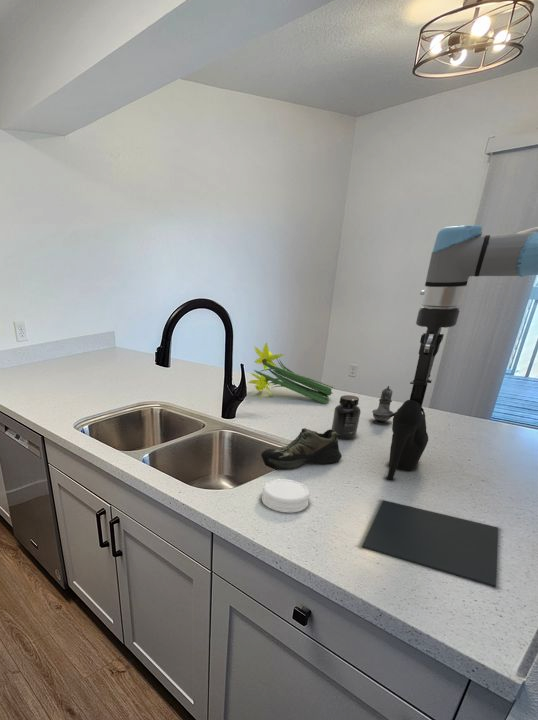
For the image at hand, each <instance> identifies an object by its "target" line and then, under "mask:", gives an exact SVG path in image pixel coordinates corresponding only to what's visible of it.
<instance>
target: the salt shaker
mask: <svg viewBox="0 0 538 720" xmlns="http://www.w3.org/2000/svg"><path fill="white" fill-rule="evenodd" d="M392 397H393V389H391V388H390V386H389V385H388V386H386V388H384V389H382V390H381V395H380V398H379V399H378V402H379V403H378V406H377V409H376V408H375V409H373V410H372V411H371V412H372V417H373V418H374V419H372V423H373V424H375V425H381V426H387V425H389V424H390V421H389V420H390V419H391V418H392V417H390V415H392V414H393V413H394V412H393V411H392V410H390V408H391V403H392V402H393V401H392Z"/></svg>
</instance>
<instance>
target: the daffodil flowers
mask: <svg viewBox="0 0 538 720" xmlns="http://www.w3.org/2000/svg"><path fill="white" fill-rule="evenodd" d="M253 347H254V350H255V352H256V354H257V355H258V356H259V358H257V359H255V360H254V363H256V364H258V365H260V364H262V367H263V369H261V370H259V371H258V370H255V369H254V370H253V371H254V372H255V373H250V374H251V375H252V377H255V378H256V379H252V380H250V381H248V382H247V384H255V385H254V388H255V390H256V391H258V392H264V390H265V389H266V390H267V391H268V393H269V394H270V396H271V397H273V395H272V393H271V390H270V387H271V389H274V388H278V387H281V388H286V389H288V390H291V391H293V392H295V393H298V394H300V395H302V396H305V397H307V398H309V399H312V400H314V401H316V402H319V403H321V404H323V405H326V404H327V403H328V401H329V400H330V398H329V396H331V395H333V393H334V392H333V390H332V389H334V390H335V389H336V387H335V386H333V385H329V384H327V383H324V382H321V381H319V380H316V379H313V378H310V377H306V376H304V375H300V374H298V373H295V372H294V371H292V370H291V369H289V368H288V367H286V366H285V365H284V364H283V362H282V361H281V359H280V358H281V357H283V356H285V354H284V353H280V354H273V352H272V351H271V350H269V346H268V342H265V344H264V346H263V348H262V350H260V349H259V348H258V347H256V346H255V345H254V346H253ZM274 360H275V361H277V362H278V364H279V366H280V367H279V366H277V365H276V364H275V362H273V361H274ZM266 371H269V372H270V373H271V374H272V375H273V376H275V377H276V378H275V377H273V376H270V375H268V374H266V373H263V372H266ZM269 386H270V387H269Z"/></svg>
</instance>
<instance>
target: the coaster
mask: <svg viewBox="0 0 538 720" xmlns="http://www.w3.org/2000/svg"><path fill="white" fill-rule="evenodd" d="M310 494H311V493H310V489H309V488H308V487H307V486H306V485H305V484H303V483H302V482H299V481H296V480H293V479H288V478H287V479H286V478H285V479H283V478H280V479H279V478H277V479H272V480H270V481H267V482H266V483H265V484H263V487H262V492H261V501H262V503H263V505H265V507H267V508H269V509H271V510H273V511H276V512H280V513H286V514H287V513H290V514H291V513H299V512H301V511H304V510H305V509H306V508H307V507H308V505H309V500H310Z"/></svg>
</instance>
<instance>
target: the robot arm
mask: <svg viewBox="0 0 538 720" xmlns="http://www.w3.org/2000/svg"><path fill="white" fill-rule="evenodd" d="M482 229H483V226H482V225H481V224H468V225H454V226H445V227H443V228H441V229H440V230H439V231H438V232H437V234H436V238H435V241H434V245H433V248H432V251H431V256H430V260H429V265H428V269H427V273H426V278H425V283H424V288H423V289H421V290H420V292H419V295H420V296H422V297H421V301H420V305H421V307H420V308H419V309H418V313H417V317H416V321H415V324H416V325H417V326H418V327H421V328H424V327H425V328H426V331H425V332H423V333H422V334H421V335H420V336H421V337H420V340H419V343H420V346H419V350H418V359H417V364H416V369H415V373H414V378H413V379H412V380H410V382H409V384H410V385H412V387H411V394H410V396H409V400H413V401H416V402H417V403H419V405H420V406H421V407H422V408H423V403H424V399H425V395H426V393H427V392H426V391H427V388H428V384H432V381H433V380H432V379H430V378H431V373H432V369H433V365H434V362H435V359H436V356H437V354H438V352H439V349H440V346H441V343H442V342H443V339H444V335H445V334H444V333H441V332H442V328H452V327H455V326H456V325H457V322H458V319H459V315H460V311H461V309H460V308H459V307H460V306H461V305H462V304H463V301H464V297H465V294H466V290H467V286H468V281H469V278H470V277H475V278H476V277H520V278H523V277H529V276H538V226H535V227H531V228H528V229H524V230H521V231H516V232H513V233H503V234H491V235H490V234H483V232H482Z"/></svg>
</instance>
